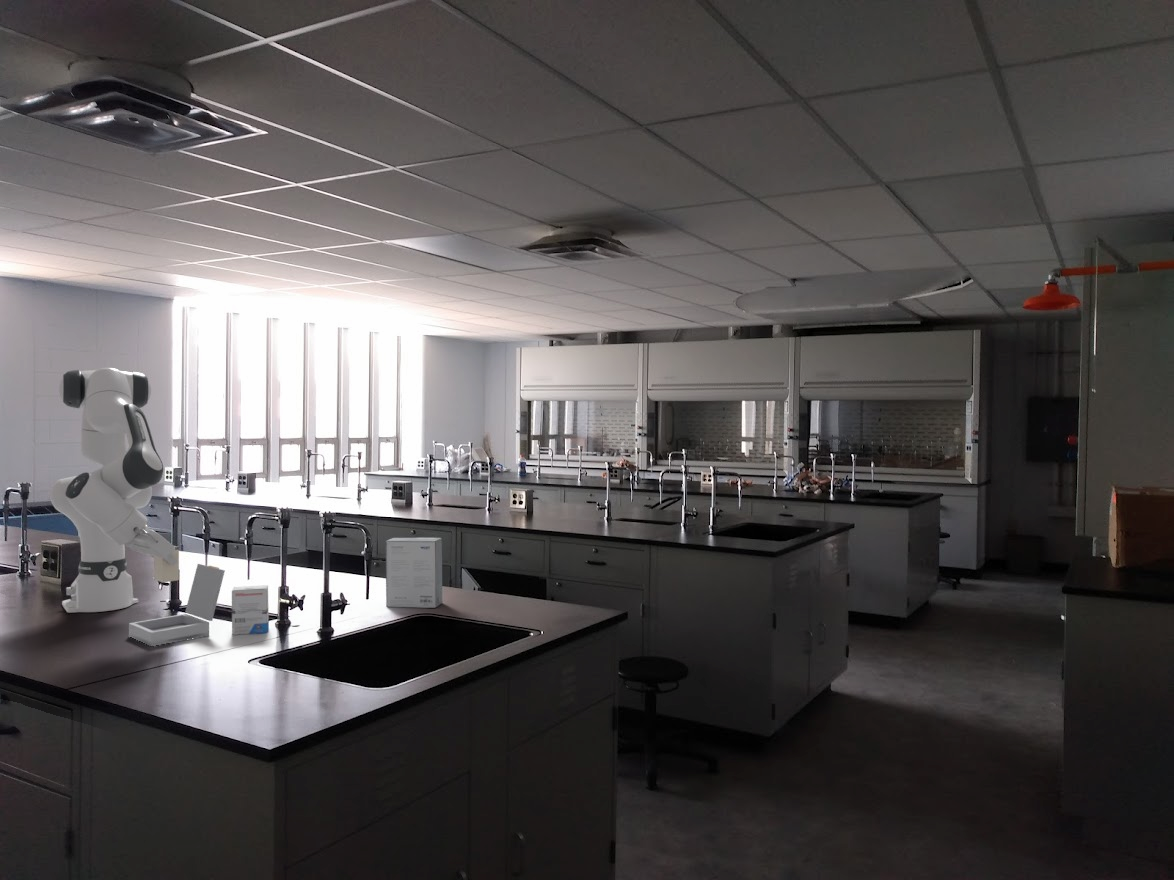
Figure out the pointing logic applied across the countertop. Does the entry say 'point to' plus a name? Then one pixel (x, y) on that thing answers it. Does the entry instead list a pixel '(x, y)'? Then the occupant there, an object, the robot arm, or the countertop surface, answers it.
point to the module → (166, 568)
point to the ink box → (250, 610)
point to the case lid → (205, 591)
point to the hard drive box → (414, 572)
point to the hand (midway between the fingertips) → (169, 561)
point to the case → (168, 629)
